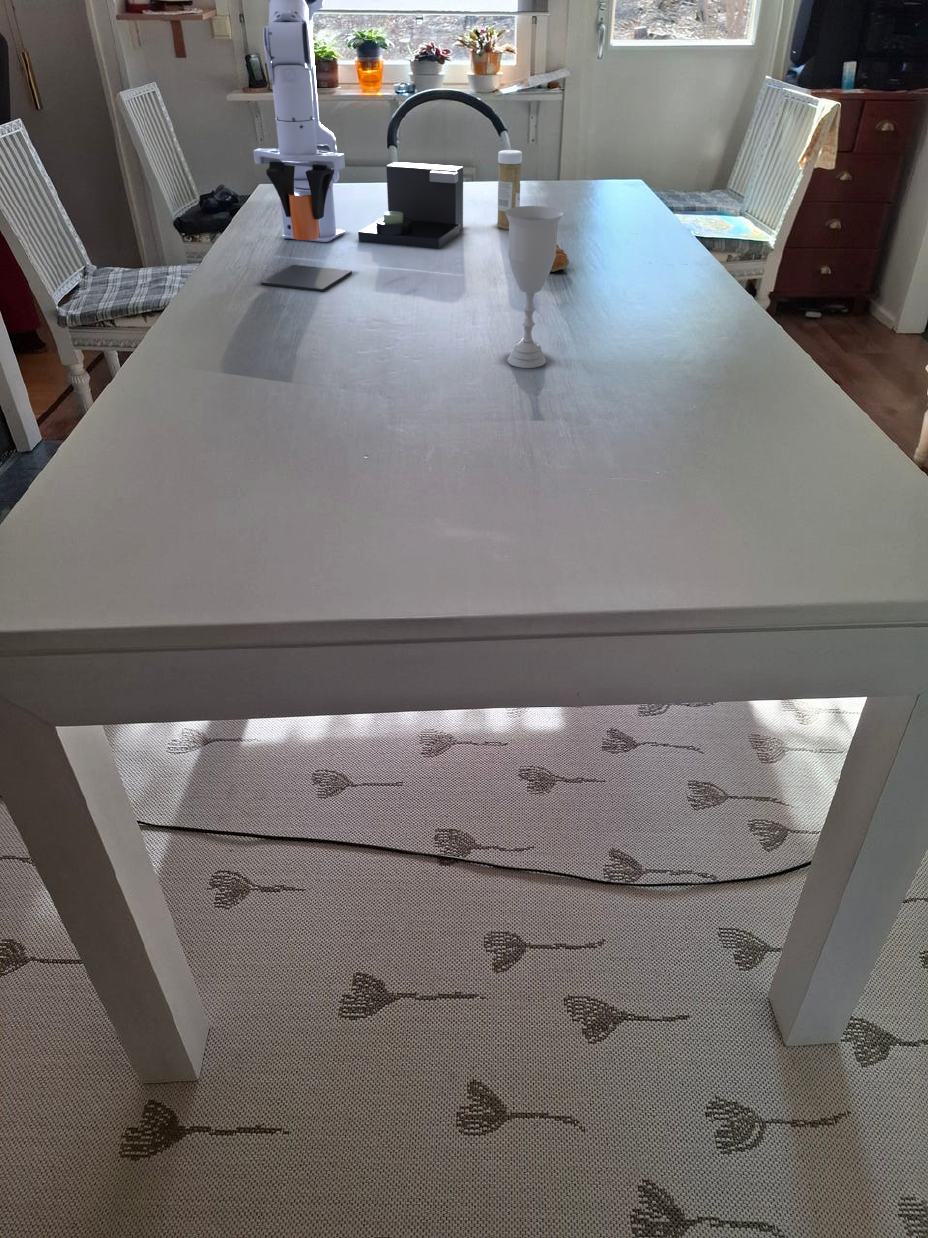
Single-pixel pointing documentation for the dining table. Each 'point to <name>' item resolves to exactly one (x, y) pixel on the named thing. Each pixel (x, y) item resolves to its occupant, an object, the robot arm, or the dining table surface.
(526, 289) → the chalice
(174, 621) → the dining table surface
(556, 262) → the pastry
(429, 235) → the coffee maker base
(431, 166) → the coffee maker column
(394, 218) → the button
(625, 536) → the dining table surface
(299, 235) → the espresso cup
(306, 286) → the mat
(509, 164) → the sprinkles bottle
